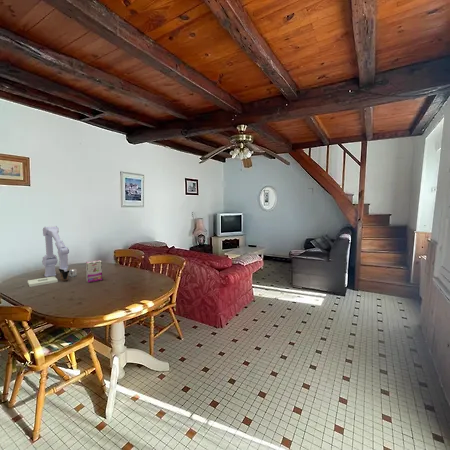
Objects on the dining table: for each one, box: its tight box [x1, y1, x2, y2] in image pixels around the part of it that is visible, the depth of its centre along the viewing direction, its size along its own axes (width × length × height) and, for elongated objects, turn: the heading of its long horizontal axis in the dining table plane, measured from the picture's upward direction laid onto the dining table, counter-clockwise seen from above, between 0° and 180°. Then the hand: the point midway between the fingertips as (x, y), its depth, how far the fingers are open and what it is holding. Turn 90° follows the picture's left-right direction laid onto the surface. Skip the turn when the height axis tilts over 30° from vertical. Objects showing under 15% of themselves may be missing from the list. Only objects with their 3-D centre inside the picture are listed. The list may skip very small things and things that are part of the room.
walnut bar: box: [59, 272, 69, 282], centre depth 201 cm, size 3×5×6 cm, turn 135°
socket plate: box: [27, 275, 59, 288], centre depth 194 cm, size 12×18×2 cm, turn 135°
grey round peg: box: [68, 268, 78, 278], centre depth 212 cm, size 6×6×6 cm
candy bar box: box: [85, 259, 103, 283], centre depth 201 cm, size 11×5×16 cm, turn 129°
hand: (64, 278), depth 201 cm, fingers open, 7 cm apart
